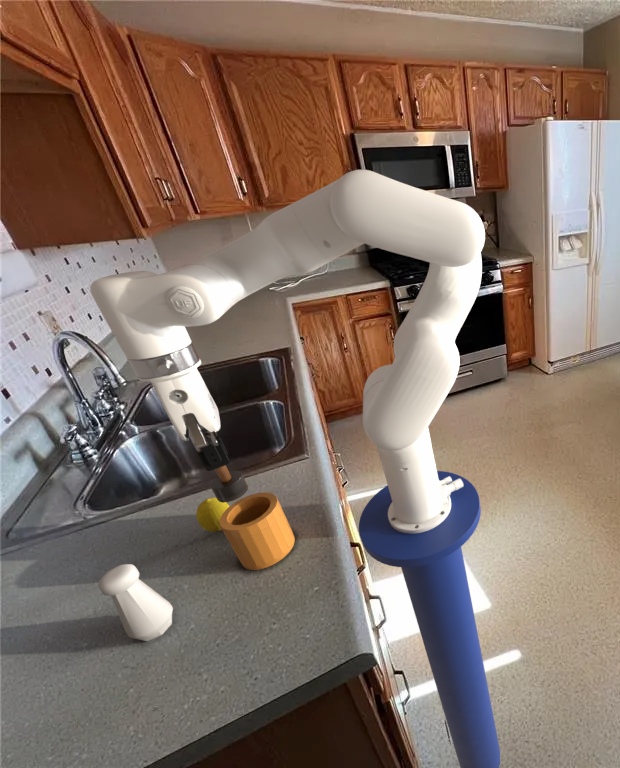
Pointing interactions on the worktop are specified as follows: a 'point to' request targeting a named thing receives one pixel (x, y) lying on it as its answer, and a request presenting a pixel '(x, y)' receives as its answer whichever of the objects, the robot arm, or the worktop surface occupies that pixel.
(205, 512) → the lemon
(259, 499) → the jar
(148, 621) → the salt shaker
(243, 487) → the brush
